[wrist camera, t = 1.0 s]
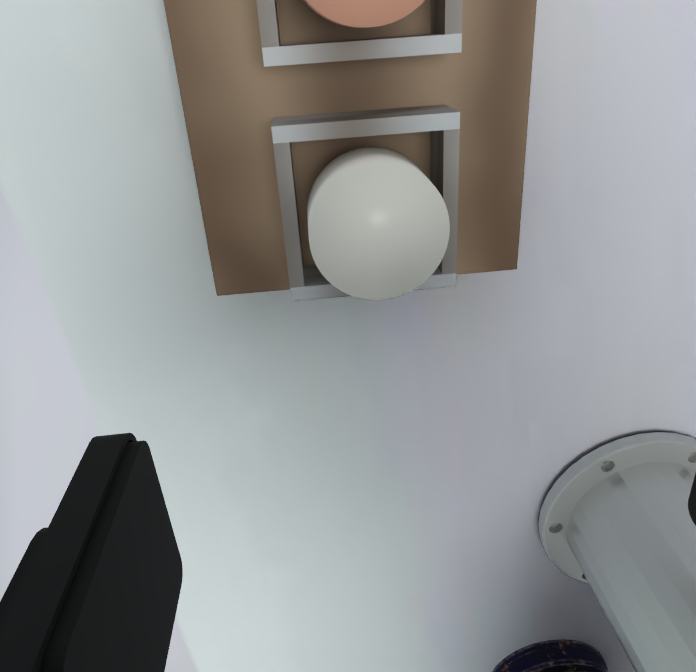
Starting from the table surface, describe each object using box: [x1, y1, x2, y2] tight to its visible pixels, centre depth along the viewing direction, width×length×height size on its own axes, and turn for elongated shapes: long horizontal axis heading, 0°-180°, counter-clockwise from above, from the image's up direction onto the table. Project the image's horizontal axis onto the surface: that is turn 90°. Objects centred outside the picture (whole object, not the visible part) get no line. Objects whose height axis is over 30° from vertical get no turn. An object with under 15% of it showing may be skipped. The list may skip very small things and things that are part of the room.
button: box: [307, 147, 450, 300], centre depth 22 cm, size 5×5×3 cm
